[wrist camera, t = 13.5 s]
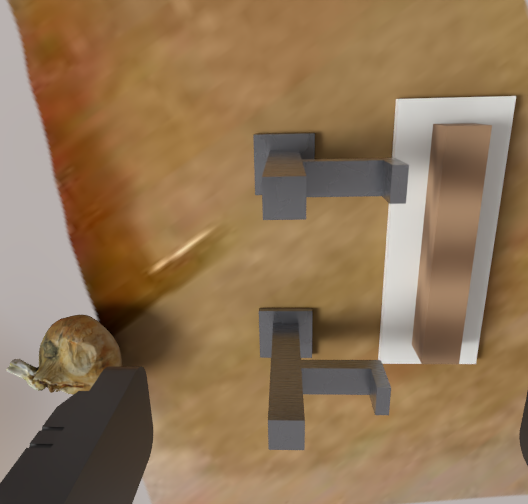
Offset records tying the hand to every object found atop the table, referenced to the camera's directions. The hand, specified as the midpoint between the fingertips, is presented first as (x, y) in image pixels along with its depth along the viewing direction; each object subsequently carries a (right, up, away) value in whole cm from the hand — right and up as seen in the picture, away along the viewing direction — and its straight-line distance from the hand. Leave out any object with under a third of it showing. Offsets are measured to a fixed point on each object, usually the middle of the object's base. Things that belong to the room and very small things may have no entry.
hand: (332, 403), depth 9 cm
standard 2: (+3, +11, +28) cm, 30 cm away
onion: (-18, -6, +35) cm, 40 cm away
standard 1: (+3, -4, +33) cm, 34 cm away
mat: (+14, +4, +30) cm, 33 cm away
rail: (+14, +4, +29) cm, 32 cm away
